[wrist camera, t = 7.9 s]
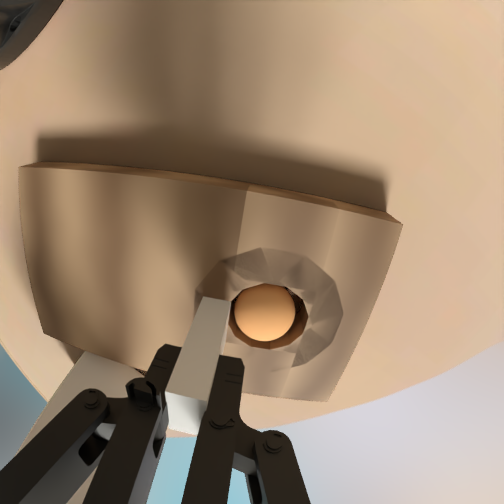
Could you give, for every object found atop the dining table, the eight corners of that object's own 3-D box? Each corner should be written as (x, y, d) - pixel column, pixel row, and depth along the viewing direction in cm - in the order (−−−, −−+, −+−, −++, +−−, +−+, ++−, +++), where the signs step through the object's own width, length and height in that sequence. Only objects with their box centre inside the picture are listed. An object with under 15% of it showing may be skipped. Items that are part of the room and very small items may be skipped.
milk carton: (74, 365, 24) (-9, 502, 6) (96, 335, 21) (-13, 508, 4) (127, 406, 25) (67, 549, 8) (159, 384, 23) (90, 568, 5)
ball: (225, 275, 17) (267, 291, 14) (269, 275, 19) (311, 287, 17) (219, 332, 17) (258, 356, 15) (262, 325, 20) (301, 343, 17)
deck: (58, 318, 21) (43, 333, 19) (41, 161, 16) (18, 167, 14) (323, 379, 21) (326, 402, 19) (386, 212, 16) (402, 224, 14)
